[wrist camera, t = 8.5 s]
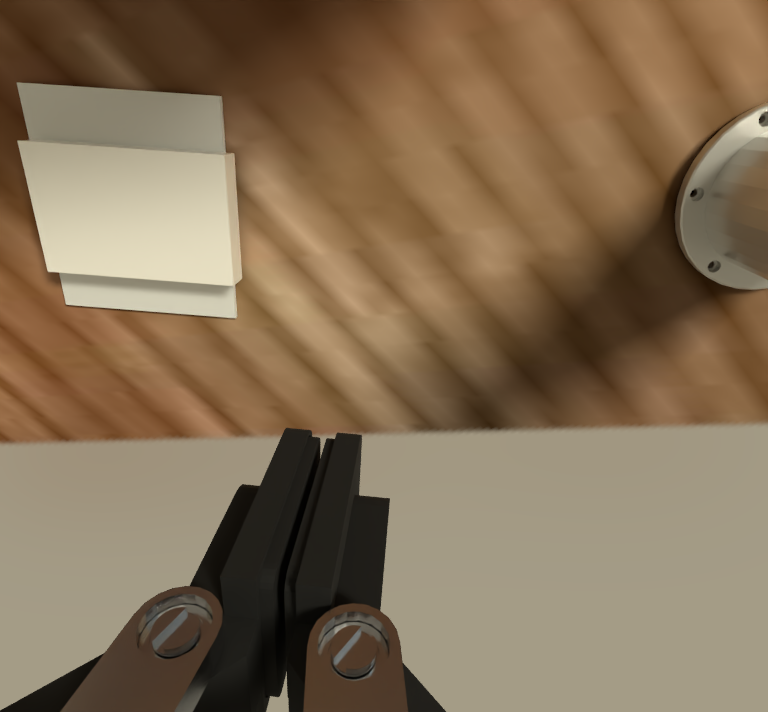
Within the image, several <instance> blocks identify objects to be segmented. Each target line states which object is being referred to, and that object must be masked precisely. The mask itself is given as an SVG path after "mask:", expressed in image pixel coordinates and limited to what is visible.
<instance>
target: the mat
mask: <svg viewBox="0 0 768 712" xmlns="http://www.w3.org/2000/svg"><path fill="white" fill-rule="evenodd" d="M17 87H18V91H19V96H20V100H21V105H22V109H23V114H24V118H25V122H26V127H27V131H28V136H29V140H35V139H40V140H54V141H69V142H83V143H97V144H111V145H126V146H140V147H154V148H168V149H182V150H197V151H211V152H225V153H226V145H225V131H224V116H223V102H222V96H212V95H197V94H182V93H167V92H153V91H138V90H123V89H108V88H93V87H78V86H63V85H49V84H34V83H19V82H17ZM59 275H60V279H61V284H62V288H63V293H64V297H65V302H66V305H76V306H88V307H101V308H113V309H126V310H138V311H151V312H164V313H176V314H189V315H201V316H214V317H226V318H236V317H237V305H236V290H235V285H234V286H226V285H213V284H200V283H187V282H175V281H162V280H149V279H136V278H123V277H110V276H98V275H85V274H72V273H59Z"/></svg>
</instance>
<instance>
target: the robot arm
mask: <svg viewBox="0 0 768 712" xmlns="http://www.w3.org/2000/svg"><path fill="white" fill-rule="evenodd" d="M760 116H761V120H760V122H759V118H760ZM692 190H694V193H693V195H692V196H690V194H691V192H692ZM675 231H676V235H677V238H678V242H679V246H680V248H681V250H682V252H683V253H684V255H685V257H686V259H687V260H688V261H689V262H690V263H691V265H692V266H693V267H694V268H695V269H696V270H697V271H699V272H700V273H702V274H703V275H705V276H706V277H708V278H709V279H711V280H713V281H715V282H717V283H719V284H721V285H725V286H728V287H732V288H736V289H747V290H758V289H768V102H766V103H763V104H760V105H758V106H756V107H754V108H752V109H750V110H749V111H747V112H745V113H743V114H741V115H739V116H738V117H737V118H735V119H734V120H732V121H731V122H730V123H728V124H727V125H726V126H724V127H723V128H722V129H721V130H720V131H719V132H718V133H717V134H715V135H714V136H713V137H712V138H711V139H710V140H709V141H708V142H707V143H706V145H705V146H704V147H703V149H702V150H701V151H700V153H699V154H698V155H697V156H696V158H695V159H694V160H693V162H692V164H691V166H690V168H689V170H688V172H687V173H686V175H685V177H684V179H683V182H682V185H681V188H680V191H679V194H678V197H677V203H676V209H675ZM710 263H711V264H710ZM709 264H710V265H709ZM708 265H709V266H708ZM361 445H362V435H357V434H347V433H337V434H336V437H335V439H329V438H327V439H326V442H325V445H324V449H323V452H322V455H321V459H320V438H318V437H312V431H311V430H303V429H292V428H286V429H285V431H284V433H283V435H282V437H281V439H280V442H279V444H278V446H277V448H276V451H275V453H274V455H273V458H272V460H271V462H270V465H269V467H268V469H267V471H266V473H265V476H264V478H263V480H262V483H261V485H260V486H254V485H244V484H242V485H241V486H240V487H239V489H238V490H237V492H236V494H235V496H234V498H233V500H232V502H231V504H230V506H229V508H228V510H227V512H226V514H225V516H224V518H223V520H222V522H221V524H220V526H219V528H218V530H217V532H216V534H215V536H214V538H213V540H212V542H211V544H210V546H209V548H208V550H207V552H206V554H205V556H204V558H203V560H202V562H201V564H200V566H199V568H198V570H197V572H196V574H195V576H194V578H193V580H192V582H191V585H190V586H184V587H178V588H172V589H170V590H167V591H165V592H162V593H160V594H158V595H156V596H155V597H153V598H151V599H150V600H149V601H147V602H146V603H144V604H143V605H142V606H141V608H140V609H139V610H138V611H137V612H136V613H135V614H134V615H133V616H132V618H131V619H130V620H129V622H128V623H127V624H126V626H125V627H124V628H123V630H122V631H121V632H120V633H119V635H118V636H117V638H116V639H115V640H114V641H113V643H112V644H111V645H110V647H109V648H108V649H107V651H106V652H105V653H104V654H102V655H100V656H98V657H96V658H95V659H93V660H91V661H89V662H88V663H86V664H84V665H82V666H80V667H78V668H77V669H75V670H73V671H71V672H69V673H68V674H66V675H64V676H62V677H60V678H58V679H57V680H55V681H53V682H51V683H49V684H48V685H46V686H44V687H42V688H40V689H39V690H37V691H35V692H33V693H31V694H29V695H28V696H26V697H24V698H22V699H20V700H19V701H17V702H15V703H13V704H11V705H10V706H8V707H6V708H4V709H2V710H0V712H266V710H267V706H268V702H269V698H270V696H275V697H279V696H280V694H281V692H282V688H283V684H284V679H285V676H286V672H287V689H288V690H287V691H288V698H289V712H446V711H445V710H444V709H443V708H442V706H441V705H440V704H439V703H438V702H437V701H436V700H435V699H434V697H433V696H432V695H431V694H430V693H429V692H428V691H427V690H426V688H424V686H423V685H422V684H421V683H420V682H419V681H418V679H417V678H416V677H415V676H414V675H413V674H412V673H411V672H410V670H409V669H408V668H407V667H406V666H405V665H404V664H403V663H402V655H401V646H400V640H399V637H398V633H397V630H396V628H395V626H394V625H393V623H392V622H391V620H390V619H389V618H388V617H387V616H386V615H384V614H383V613H382V612H381V611H380V607H381V596H382V584H383V572H384V560H385V549H386V536H387V525H388V514H389V502H390V499H389V498H379V497H369V496H359V484H360V483H359V481H360V465H361Z"/></svg>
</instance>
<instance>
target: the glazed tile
mask: <svg viewBox="0 0 768 712" xmlns="http://www.w3.org/2000/svg"><path fill="white" fill-rule="evenodd" d="M18 146H19V150H20V154H21V159H22V163H23V167H24V171H25V176H26V180H27V184H28V189H29V193H30V197H31V202H32V206H33V210H34V214H35V219H36V223H37V227H38V232H39V236H40V240H41V244H42V249H43V253H44V257H45V262H46V266H47V270H48V272H59V273H72V274H85V275H98V276H110V277H123V278H136V279H149V280H162V281H175V282H187V283H200V284H213V285H226V286H234V285H235V284H236V283H238V282H239V281H240V280H241V279H242V268H241V252H240V236H239V220H238V204H237V188H236V172H235V156H234V153H225V152H211V151H197V150H182V149H168V148H154V147H140V146H126V145H111V144H97V143H83V142H69V141H54V140H40V139H35V140H18Z"/></svg>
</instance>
